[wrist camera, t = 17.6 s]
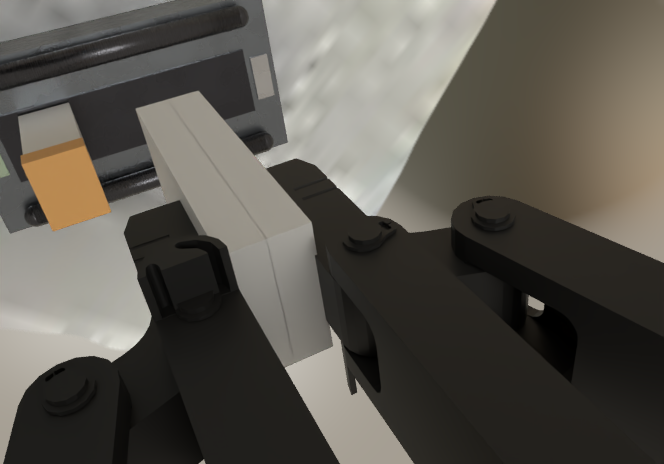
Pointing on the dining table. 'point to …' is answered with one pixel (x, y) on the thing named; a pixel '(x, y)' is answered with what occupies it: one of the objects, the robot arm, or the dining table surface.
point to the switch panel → (136, 88)
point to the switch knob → (60, 167)
